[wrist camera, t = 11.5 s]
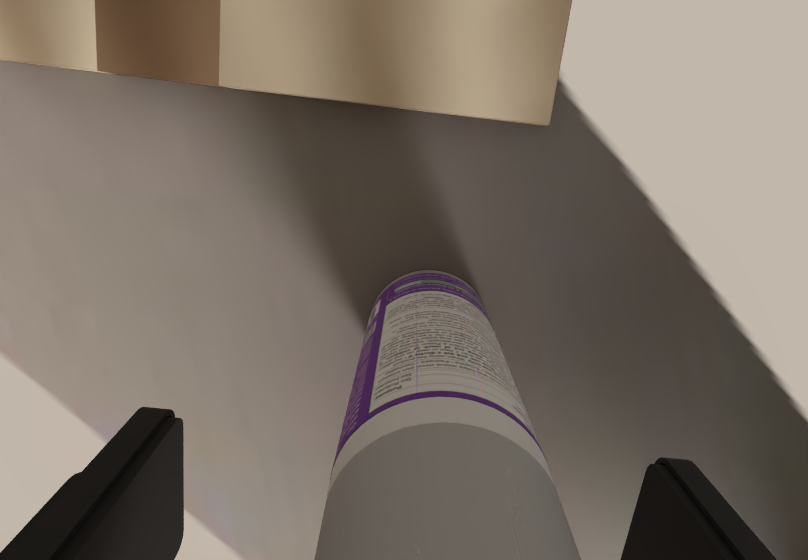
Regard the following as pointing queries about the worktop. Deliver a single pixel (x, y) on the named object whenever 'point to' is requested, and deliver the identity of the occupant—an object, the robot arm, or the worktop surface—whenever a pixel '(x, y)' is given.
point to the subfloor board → (313, 48)
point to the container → (438, 441)
